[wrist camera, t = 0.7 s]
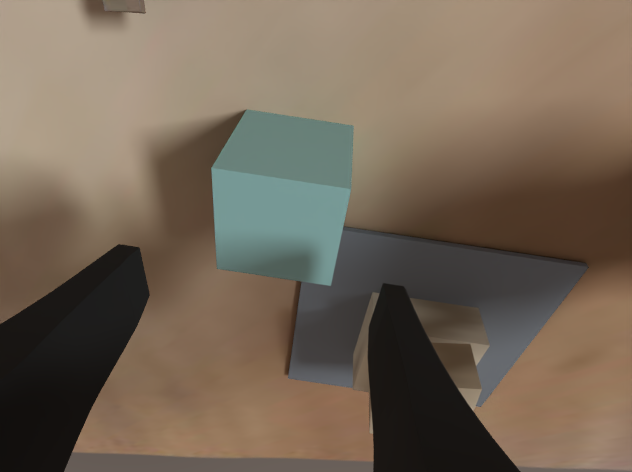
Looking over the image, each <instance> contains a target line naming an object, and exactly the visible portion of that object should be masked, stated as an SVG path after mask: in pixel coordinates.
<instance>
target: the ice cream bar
mask: <svg viewBox="0 0 632 472" xmlns="http://www.w3.org/2000/svg"><path fill="white" fill-rule="evenodd" d="M103 5H104V9H105V11H116V12H132V13H146V12H145V5H144V0H103Z"/></svg>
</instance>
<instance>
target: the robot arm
mask: <svg viewBox="0 0 632 472" xmlns="http://www.w3.org/2000/svg"><path fill="white" fill-rule="evenodd" d="M149 295H150V294H149V289H148V285H147V280H146V276H145V271H144V266H143V262H142V257H141V252H140V248H139V247H133V246H127V245H120V244H119V245H117V246H116V247H114V248H113V249H111V250H110V251H108V252H107V253H106V254H104V255H103V256H102V257H100V258H99V259H97V260H96V261H95V262H93V263H92V264H90V265H89V266H88V267H86V268H85V269H83V270H82V271H81V272H79V273H78V274H76V275H75V276H74V277H72V278H71V279H69V280H68V281H66V282H65V283H64V284H62V285H61V286H59V287H58V288H56V289H55V290H54V291H52V292H51V293H49V294H48V295H46V296H44V297H43V298H41V299H40V300H38V301H37V302H35V303H34V304H32V305H30V306H29V307H27V308H26V309H24V310H23V311H21V312H20V313H18V314H16V315H15V316H13V317H12V318H10V319H8V320H7V321H5V322H3V323H1V324H0V472H64V470H65V468H66V465H67V463H68V460H69V458H70V456H71V453H72V451H73V449H74V446H75V444H76V441H77V439H78V437H79V435H80V432H81V430H82V428H83V426H84V423H85V421H86V419H87V417H88V414H89V412H90V410H91V408H92V406H93V404H94V402H95V400H96V398H97V396H98V394H99V393H100V391H101V389H102V387H103V386H104V384H105V382H106V380H107V378H108V377H109V375H110V373H111V371H112V370H113V368H114V366H115V364H116V363H117V361H118V359H119V357H120V356H121V354H122V352H123V350H124V349H125V347H126V345H127V343H128V342H129V340H130V338H131V336H132V334H133V333H134V331H135V329H136V327H137V325H138V323H139V320H140V318H141V316H142V313H143V311H144V308H145V306H146V303H147V300H148V298H149ZM368 373H369V386H370V399H371V411H372V424H373V441H374V472H520V471H519V470H518V468H517V467H516V466H515V465H514V463H513V462H512V461H511V460H510V458H509V457H508V456H507V455H506V454H505V452H504V451H503V450H502V449H501V447H500V446H499V445H498V444H497V443H496V441H495V440H494V439H493V438H492V436H491V435H490V434H489V432H488V431H487V430H486V428H485V427H484V425H483V424H482V423H481V421H480V420H479V419H478V417H477V416H476V415H475V413H474V412H473V410H472V409H471V407H470V406H469V404H468V403H467V402H466V400H465V399H464V397H463V396H462V394H461V393H460V391H459V389H458V388H457V386H456V385H455V383H454V382H453V380H452V378H451V377H450V375H449V373H448V372H447V370H446V368H445V367H444V365H443V363H442V361H441V360H440V358H439V356H438V354H437V353H436V351H435V349H434V347H433V345H432V343H431V341H430V339H429V338H428V336H427V334H426V332H425V330H424V328H423V326H422V324H421V322H420V320H419V317H418V315H417V313H416V311H415V309H414V307H413V304H412V302H411V300H410V298H409V295H408V293H407V290H406V289H405V287H404V286H400V285H393V284H386V283H383V285H382V288H381V291H380V294H379V297H378V300H377V303H376V306H375V309H374V312H373V315H372V318H371V321H370V324H369V332H368Z"/></svg>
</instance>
